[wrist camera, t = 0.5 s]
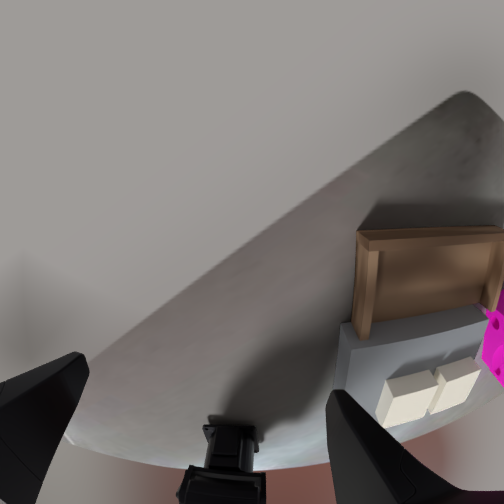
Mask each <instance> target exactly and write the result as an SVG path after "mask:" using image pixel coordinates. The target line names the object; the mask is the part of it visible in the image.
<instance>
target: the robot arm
mask: <svg viewBox="0 0 504 504" xmlns="http://www.w3.org/2000/svg"><path fill="white" fill-rule="evenodd" d="M88 377H89V367H88V364H87V361H86V358H85V356H84V354H82V353H79V352H72V353H70V354H67V355H65V356H63V357H60V358H58V359H56V360H53V361H51V362H49V363H46V364H44V365H42V366H39V367H37V368H35V369H33V370H30V371H28V372H25V373H23V374H20V375H18V376H16V377H13V378H11V379H8V380H6V381H4V382H1V383H0V504H35V503H36V499H37V497H38V494H39V492H40V489H41V486H42V484H43V481H44V478H45V475H46V473H47V471H48V468H49V466H50V463H51V461H52V459H53V456H54V454H55V452H56V450H57V447H58V445H59V443H60V441H61V438H62V436H63V434H64V432H65V430H66V428H67V426H68V424H69V422H70V419H71V417H72V415H73V413H74V411H75V409H76V407H77V405H78V403H79V400H80V397H81V395H82V392H83V389H84V387H85V384H86V382H87V379H88ZM326 428H327V446H328V453H329V459H330V465H331V471H332V477H333V483H334V489H335V496H336V501H337V504H504V491H467V490H462V489H459V488H457V487H455V486H453V485H452V484H450V483H449V482H447V481H446V480H444V479H443V478H441V477H440V476H438V475H437V474H435V473H434V472H433V471H431V470H430V469H429V468H427V467H426V466H424V465H423V464H422V463H421V462H420V461H418V460H417V459H416V458H415V457H414V456H413V455H412V454H411V453H409V452H408V451H407V450H406V449H404V447H403V446H402V445H401V444H400V443H399V442H398V441H397V440H396V439H395V438H393V437H392V436H391V435H390V434H389V433H388V432H387V431H386V430H385V429H384V428H383V427H382V426H381V425H380V424H379V423H378V422H377V421H376V420H375V419H374V418H373V417H372V416H371V415H370V414H369V413H368V412H367V411H366V410H365V409H364V408H363V407H362V406H361V405H360V404H359V403H358V402H357V401H356V400H355V399H354V398H353V397H352V396H351V395H350V394H349V393H348V392H347V391H345V390H344V389H334V390H332V391H331V393H330V396H329V399H328V401H327V404H326ZM202 429H203V431H204V434H205V437H206V439H207V442H208V448H207V453H206V459H205V464H204V468H202V467H196V466H194V465H189V468H188V469H187V470H186V471H185V475H184V479H183V481H182V483H181V485H180V487H179V489H178V491H177V492H176V497H177V498H178V499H179V504H266V473H265V472H261V473H253V460H254V453H257V452H259V445H258V437H257V430H256V427H255V426H229V425H203V428H202Z"/></svg>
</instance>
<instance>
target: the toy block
mask: <svg viewBox="0 0 504 504" xmlns="http://www.w3.org/2000/svg"><path fill="white" fill-rule="evenodd" d="M486 316H487V317H488V318H489V322H488V325H487V328H486V331H485V335H484V344H483V352H482V360H483V361H484V362H485V363H486V364H487V366H488V367H489V368H490V371H491V372H492V373H493V375H494V376H495V377H496V378H497V380H498V381H499V382H500V383H501V385H502V386H503V387H504V289H503V290H502V291H501V292H500V296H499V300H498V303H497V307H496V310H495V311H494V312H490V311H489V310H488V309H487V310H486Z"/></svg>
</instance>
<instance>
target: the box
mask: <svg viewBox="0 0 504 504" xmlns="http://www.w3.org/2000/svg"><path fill="white" fill-rule="evenodd" d="M503 280H504V229H502V228H500V227H497V226H495V225H483V226H451V227H424V228H401V229H379V230H359V231H356V261H355V280H354V294H353V305H352V316H351V324H352V326H353V328H354V330H355V332H356V334H357V336H358V338H359V340H360V341H362V340H369V334H370V327H371V323H376V322H383V321H390V320H396V319H402V318H408V317H414V316H419V315H424V314H430V313H435V312H440V311H444V310H449V309H454V308H458V307H463V306H467V305H471V304H475V303H480V304H482V305H483V306H484V307H485V308H486V309H488V310H489V311H490V312H494V311H495V310H496V307H497V303H498V300H499V296H500V292H501V289H502V285H503Z"/></svg>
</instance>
